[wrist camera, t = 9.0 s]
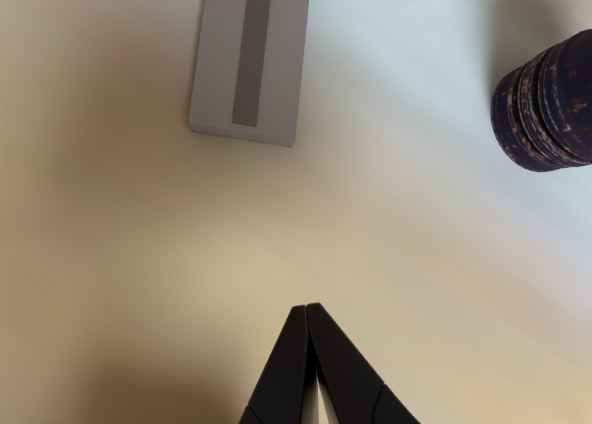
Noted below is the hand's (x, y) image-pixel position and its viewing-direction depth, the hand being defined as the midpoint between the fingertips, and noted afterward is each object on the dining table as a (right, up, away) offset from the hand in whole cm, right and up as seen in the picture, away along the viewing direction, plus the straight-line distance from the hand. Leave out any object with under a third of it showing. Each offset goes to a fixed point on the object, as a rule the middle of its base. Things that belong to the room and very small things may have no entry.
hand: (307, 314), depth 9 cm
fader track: (-3, +16, +13) cm, 21 cm away
